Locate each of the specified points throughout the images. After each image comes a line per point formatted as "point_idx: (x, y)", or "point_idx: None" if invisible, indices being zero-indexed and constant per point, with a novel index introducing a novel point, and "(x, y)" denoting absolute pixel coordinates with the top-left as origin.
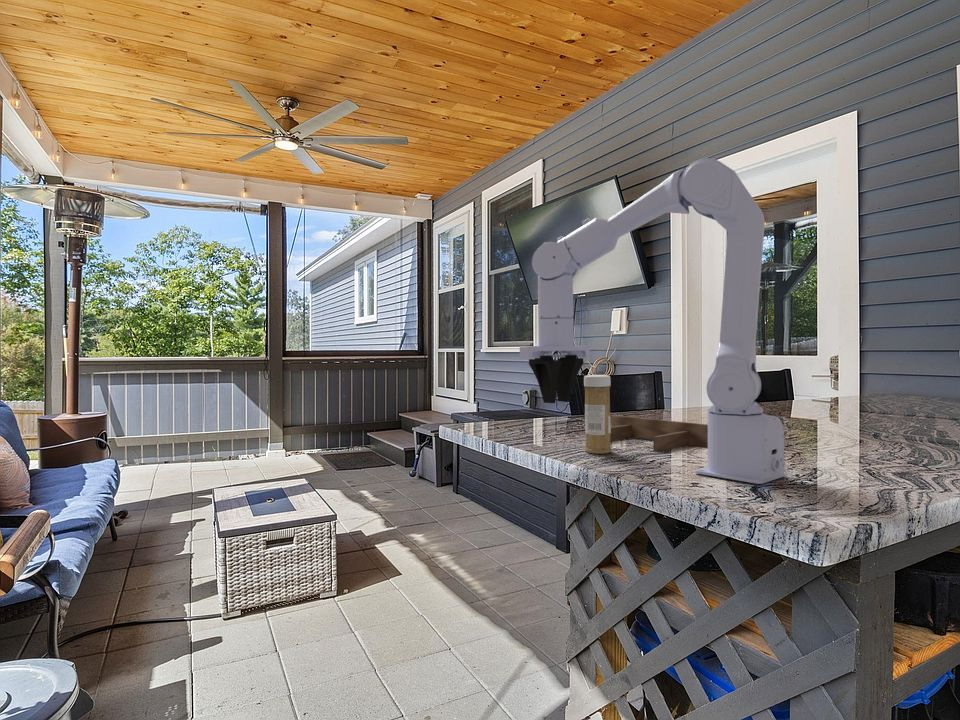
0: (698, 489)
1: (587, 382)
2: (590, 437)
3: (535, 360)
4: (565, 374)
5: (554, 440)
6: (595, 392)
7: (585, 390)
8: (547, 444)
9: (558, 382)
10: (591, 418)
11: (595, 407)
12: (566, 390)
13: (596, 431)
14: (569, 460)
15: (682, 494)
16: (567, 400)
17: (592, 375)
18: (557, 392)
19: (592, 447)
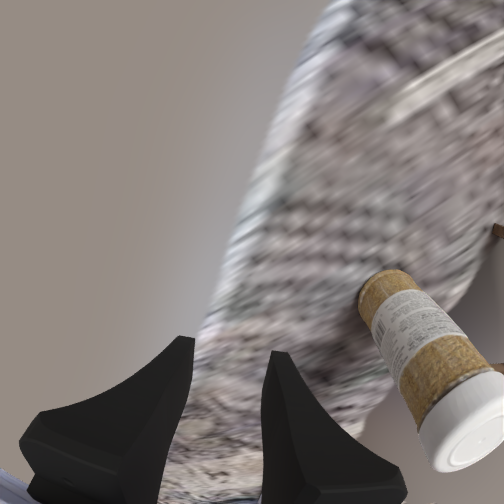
0: (199, 478)
1: (434, 424)
2: (371, 314)
3: (39, 472)
4: (271, 475)
5: (474, 114)
6: (415, 417)
7: (442, 382)
8: (420, 126)
9: (279, 410)
10: (386, 349)
11: (397, 382)
12: (264, 420)
13: (374, 340)
14: (253, 300)
15: (167, 471)
16: (262, 394)
17: (491, 425)
18: (273, 372)
19: (363, 307)
